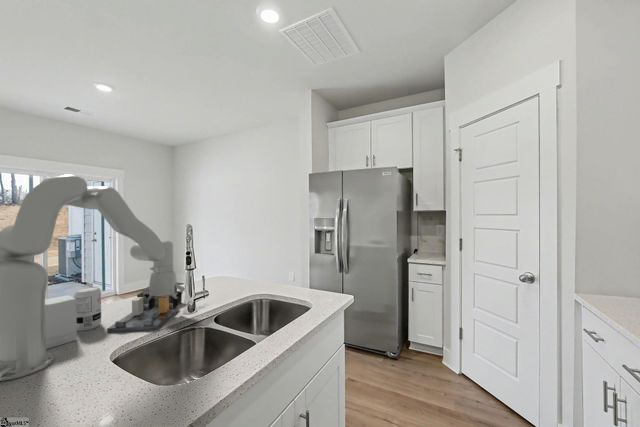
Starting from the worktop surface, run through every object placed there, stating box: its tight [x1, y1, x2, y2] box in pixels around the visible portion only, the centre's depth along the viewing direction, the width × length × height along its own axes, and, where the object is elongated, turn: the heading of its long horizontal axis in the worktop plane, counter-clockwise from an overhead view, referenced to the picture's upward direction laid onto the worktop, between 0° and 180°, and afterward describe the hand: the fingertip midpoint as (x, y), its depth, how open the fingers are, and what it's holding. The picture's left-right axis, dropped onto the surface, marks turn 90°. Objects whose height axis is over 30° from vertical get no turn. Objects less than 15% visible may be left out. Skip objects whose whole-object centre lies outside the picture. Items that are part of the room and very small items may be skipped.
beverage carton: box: [136, 290, 183, 308], centre depth 135 cm, size 8×19×7 cm, turn 81°
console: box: [106, 303, 180, 333], centre depth 115 cm, size 21×18×4 cm
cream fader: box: [131, 296, 143, 316], centre depth 117 cm, size 4×2×7 cm, turn 7°
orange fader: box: [158, 296, 169, 313], centre depth 120 cm, size 4×2×7 cm, turn 7°
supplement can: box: [73, 286, 102, 332], centre depth 108 cm, size 8×8×15 cm
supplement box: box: [45, 294, 78, 350], centre depth 96 cm, size 9×9×15 cm
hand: (163, 307), depth 120 cm, fingers open, 9 cm apart
